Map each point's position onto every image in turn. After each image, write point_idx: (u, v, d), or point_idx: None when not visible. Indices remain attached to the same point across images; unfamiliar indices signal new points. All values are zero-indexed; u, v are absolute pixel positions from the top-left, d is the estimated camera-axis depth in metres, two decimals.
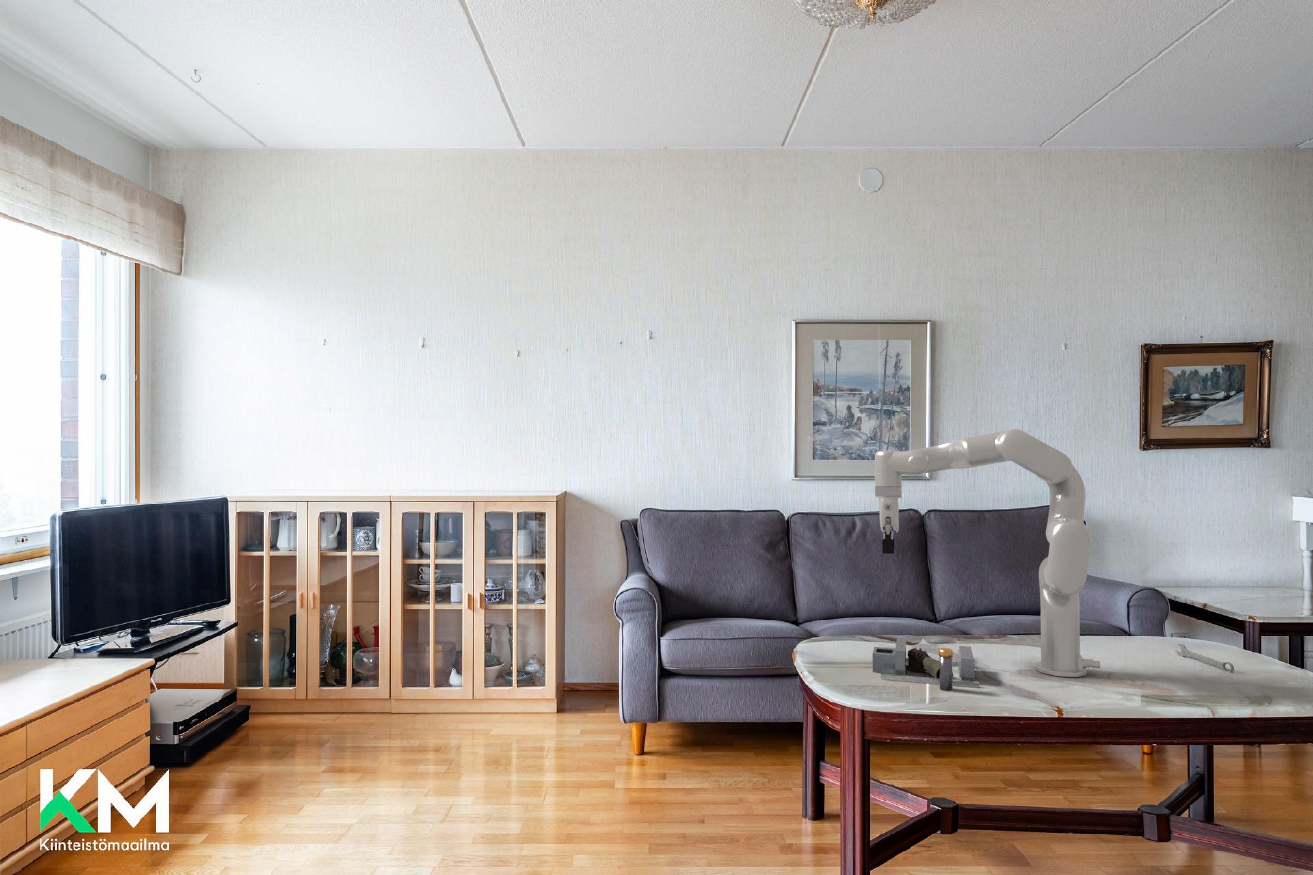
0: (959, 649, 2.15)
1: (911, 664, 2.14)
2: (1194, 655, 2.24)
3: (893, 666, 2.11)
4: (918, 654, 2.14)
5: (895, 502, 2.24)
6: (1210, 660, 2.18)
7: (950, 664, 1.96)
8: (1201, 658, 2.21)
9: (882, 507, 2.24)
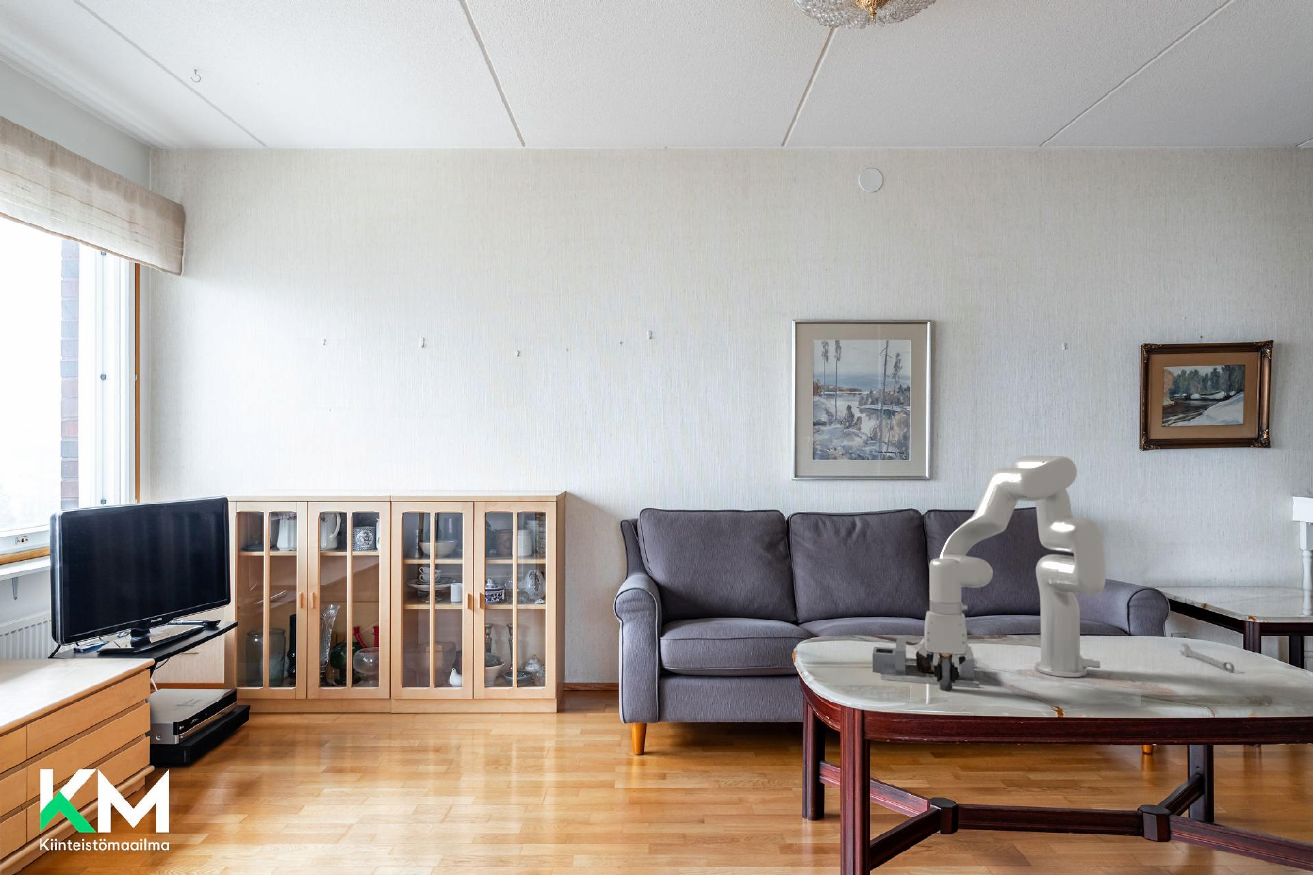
0: None
1: (919, 664, 2.13)
2: (1197, 655, 2.24)
3: (893, 666, 2.11)
4: None
5: None
6: (1212, 660, 2.18)
7: (950, 664, 1.96)
8: (1203, 658, 2.22)
9: (965, 626, 1.95)
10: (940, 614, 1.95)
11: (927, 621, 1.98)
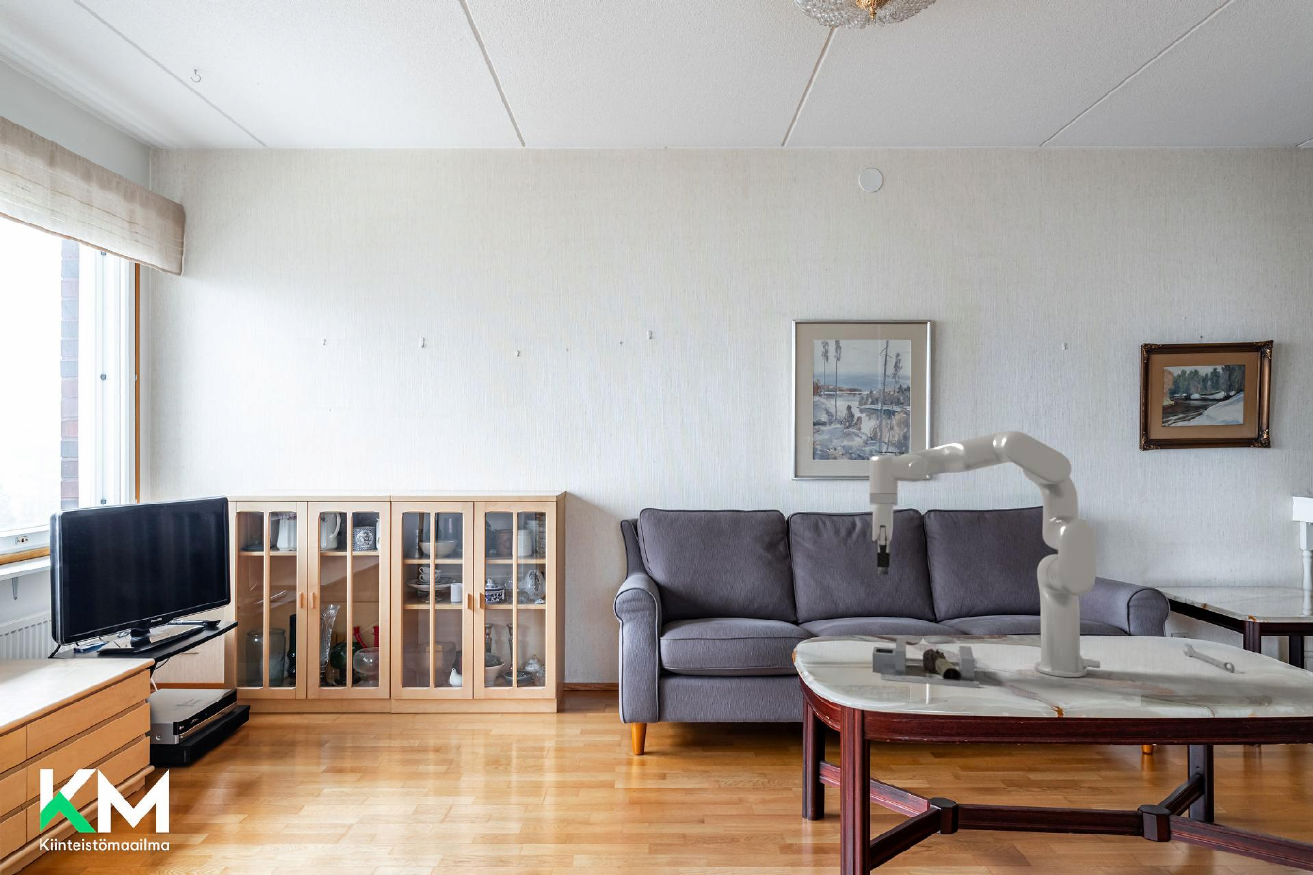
0: (959, 649, 2.15)
1: (924, 664, 2.13)
2: (1199, 655, 2.24)
3: (893, 666, 2.11)
4: (932, 655, 2.13)
5: None
6: (1213, 660, 2.18)
7: None
8: (1205, 658, 2.22)
9: None
10: (896, 504, 2.14)
11: (889, 513, 2.12)
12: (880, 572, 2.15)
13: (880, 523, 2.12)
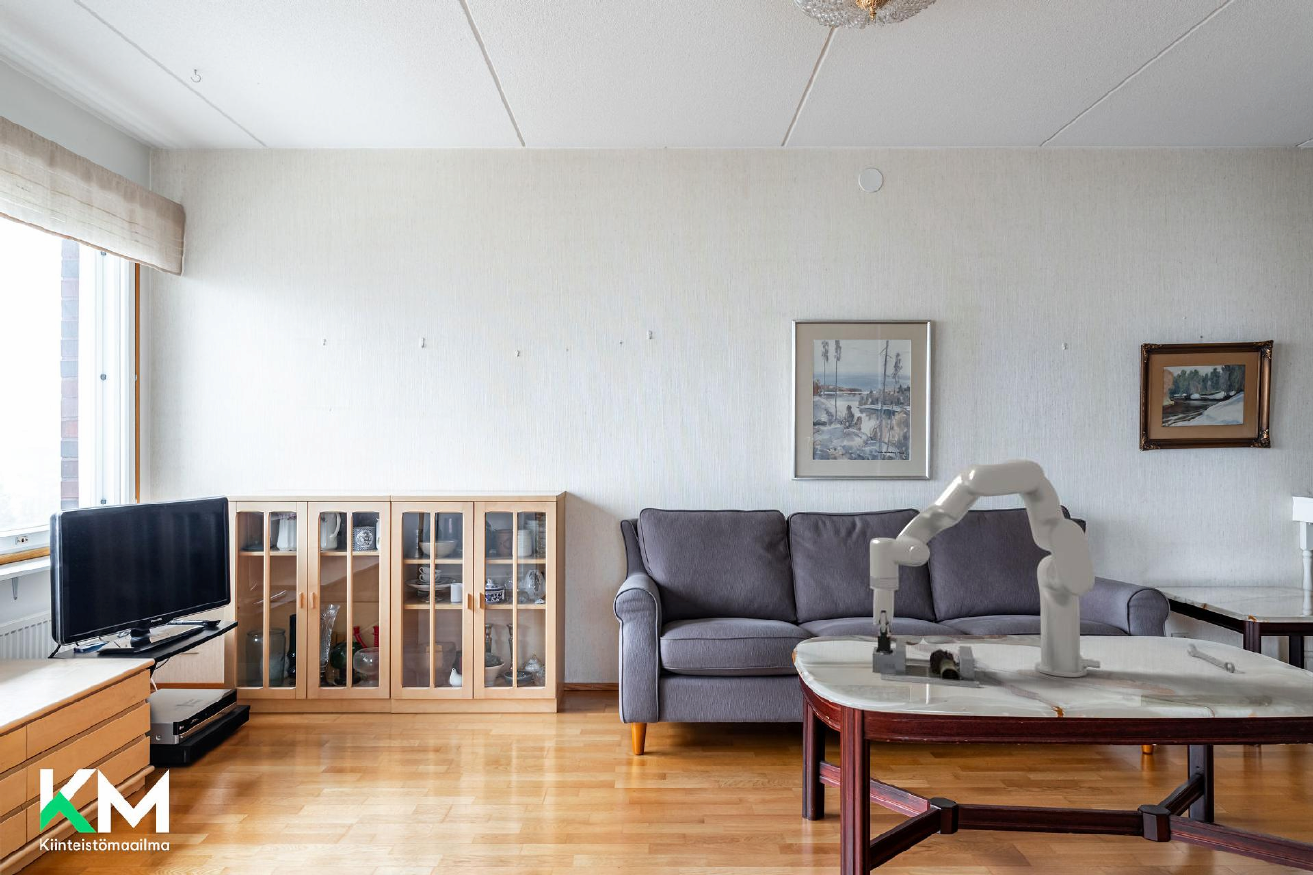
0: (959, 649, 2.15)
1: (930, 664, 2.13)
2: (1201, 655, 2.24)
3: (893, 666, 2.11)
4: (938, 655, 2.13)
5: None
6: (1214, 660, 2.18)
7: None
8: (1207, 658, 2.22)
9: None
10: (897, 588, 2.14)
11: (890, 598, 2.12)
12: None
13: (881, 608, 2.12)
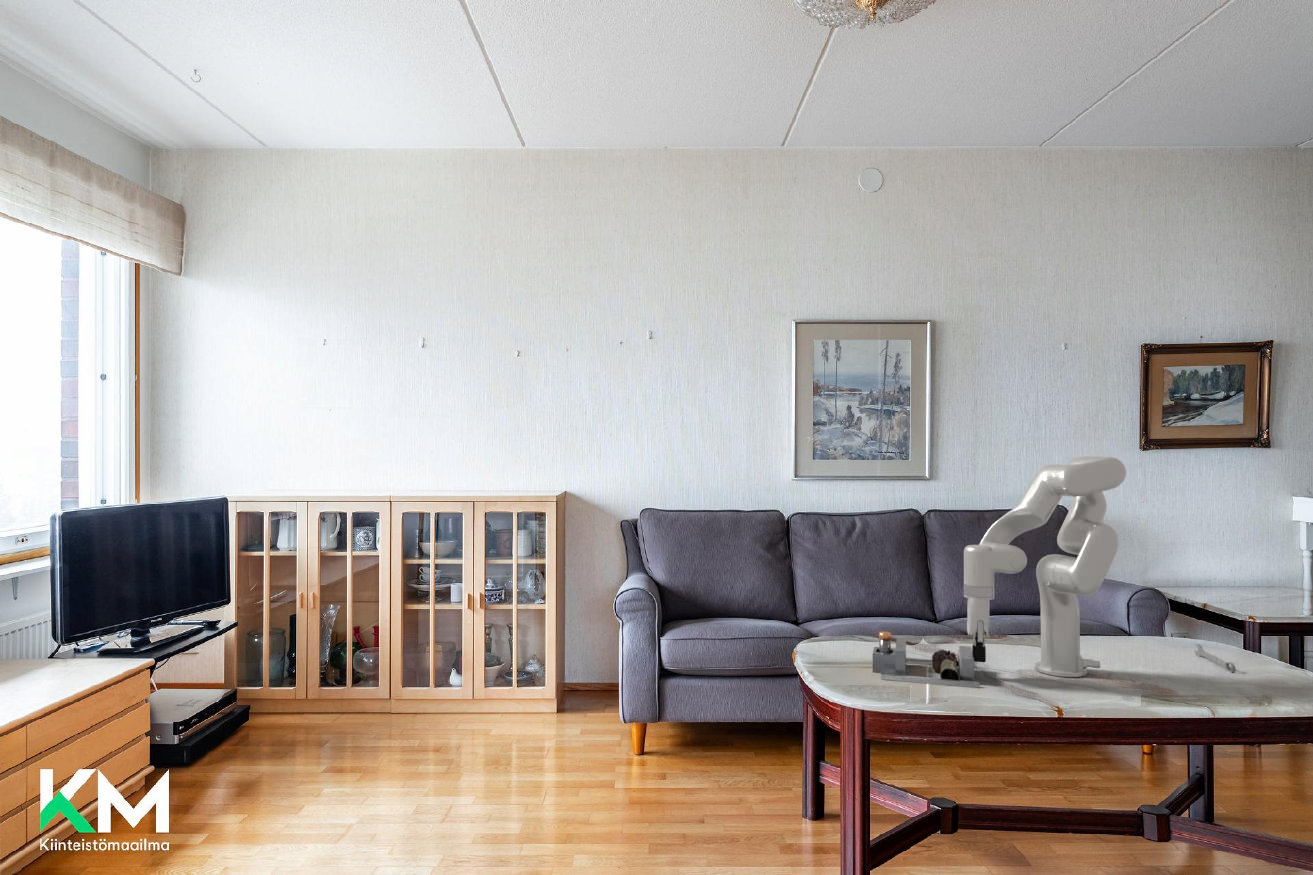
0: (959, 649, 2.15)
1: (932, 664, 2.13)
2: (1206, 655, 2.24)
3: (893, 666, 2.11)
4: (940, 655, 2.13)
5: None
6: (1217, 660, 2.18)
7: None
8: (1211, 658, 2.21)
9: None
10: (993, 597, 2.06)
11: (987, 607, 2.04)
12: None
13: (978, 618, 2.04)
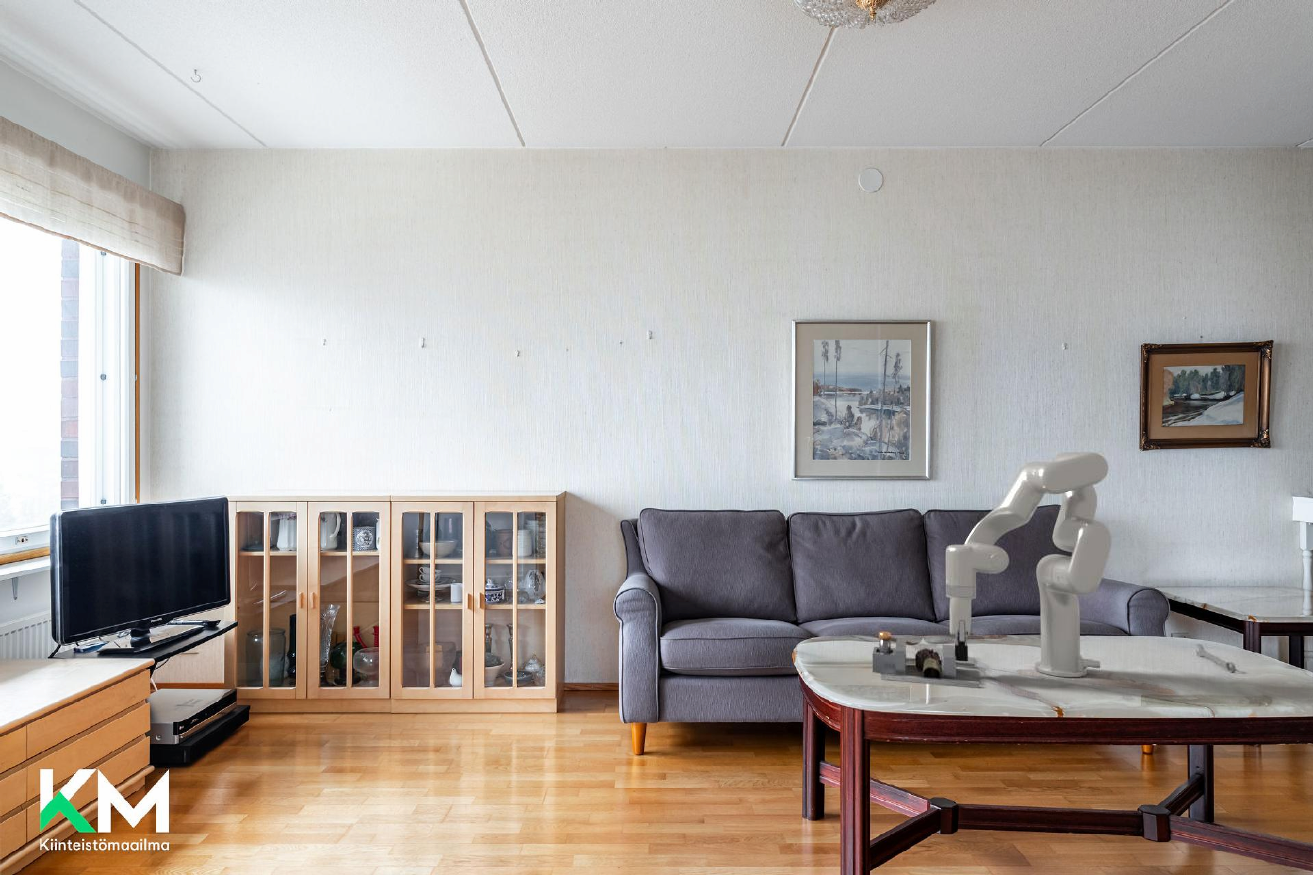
0: (942, 648, 2.16)
1: (915, 663, 2.15)
2: (1207, 655, 2.24)
3: (893, 666, 2.11)
4: (923, 654, 2.14)
5: None
6: (1218, 660, 2.18)
7: None
8: (1212, 658, 2.21)
9: None
10: (975, 597, 2.08)
11: (968, 607, 2.05)
12: None
13: (959, 618, 2.05)
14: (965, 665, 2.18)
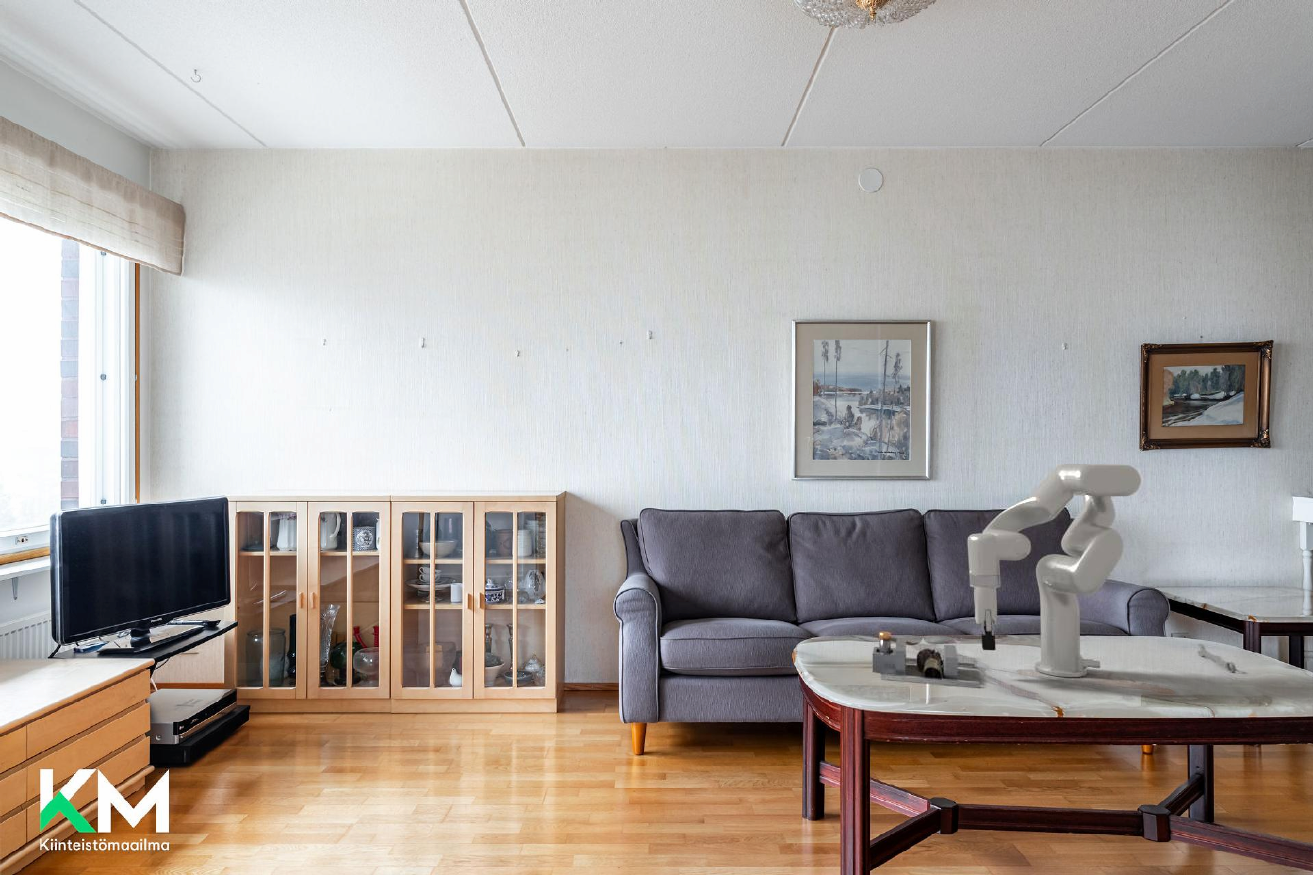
0: (944, 648, 2.16)
1: (917, 663, 2.15)
2: (1208, 655, 2.24)
3: (893, 666, 2.11)
4: (925, 654, 2.14)
5: None
6: (1218, 660, 2.18)
7: None
8: (1213, 658, 2.21)
9: None
10: (999, 585, 2.06)
11: (994, 596, 2.04)
12: None
13: (985, 607, 2.04)
14: (965, 665, 2.18)
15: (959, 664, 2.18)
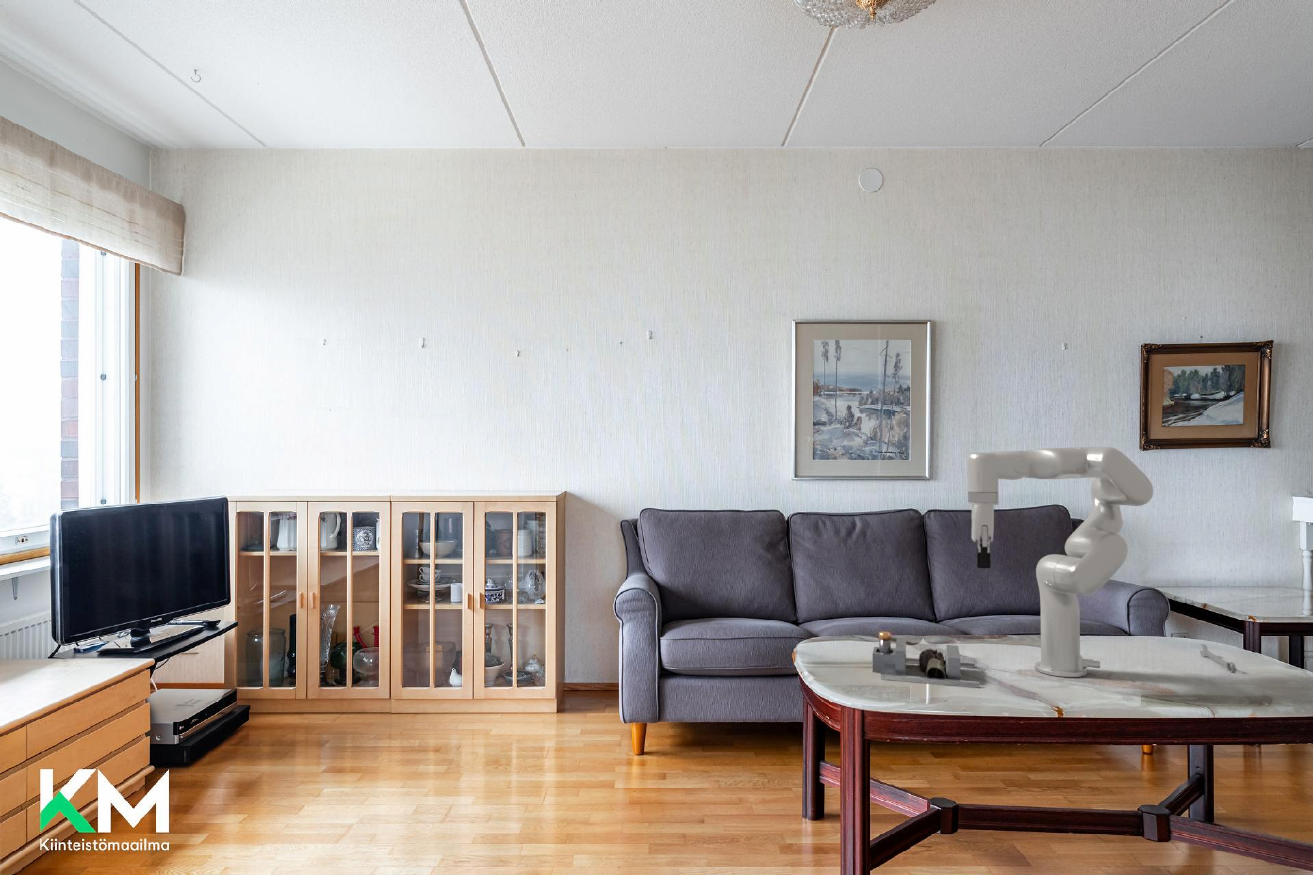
0: None
1: (919, 663, 2.14)
2: (1210, 655, 2.24)
3: (893, 666, 2.11)
4: (927, 654, 2.14)
5: None
6: (1219, 660, 2.18)
7: None
8: (1214, 658, 2.21)
9: None
10: (997, 503, 2.06)
11: (991, 512, 2.04)
12: None
13: (982, 523, 2.04)
14: (965, 665, 2.18)
15: None
